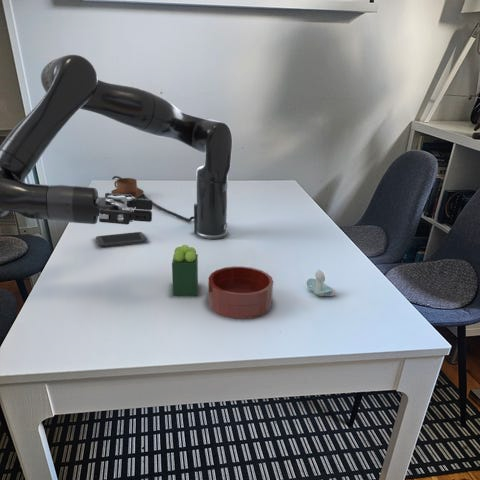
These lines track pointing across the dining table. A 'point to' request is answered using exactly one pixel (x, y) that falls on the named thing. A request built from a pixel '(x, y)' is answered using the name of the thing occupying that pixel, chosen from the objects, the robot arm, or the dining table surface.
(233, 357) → the dining table surface
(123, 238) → the cell phone
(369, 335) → the dining table surface
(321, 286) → the pacifier
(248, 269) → the pot
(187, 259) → the grapes
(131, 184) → the cup and saucer
